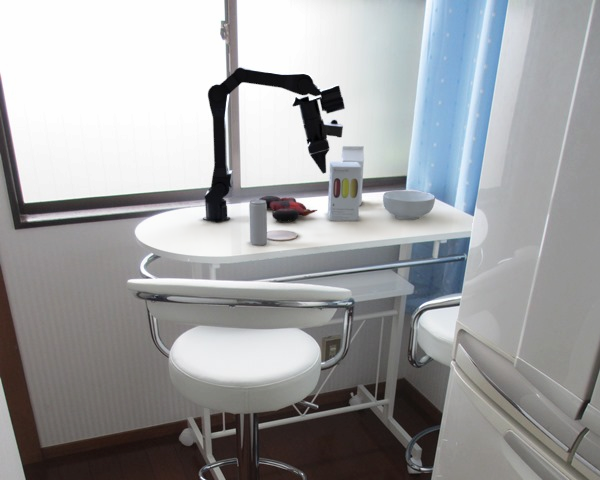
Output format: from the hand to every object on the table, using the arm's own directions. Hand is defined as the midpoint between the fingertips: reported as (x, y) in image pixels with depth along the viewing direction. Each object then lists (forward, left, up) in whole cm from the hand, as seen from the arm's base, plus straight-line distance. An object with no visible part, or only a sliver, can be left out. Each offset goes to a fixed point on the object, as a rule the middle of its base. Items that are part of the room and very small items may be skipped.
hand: (323, 170), depth 213 cm
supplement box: (+3, +7, -16) cm, 18 cm away
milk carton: (-6, +25, -16) cm, 30 cm away
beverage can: (+1, -33, -16) cm, 37 cm away
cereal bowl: (+19, +21, -16) cm, 32 cm away
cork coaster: (+1, -23, -16) cm, 28 cm away
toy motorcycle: (-14, 0, -16) cm, 21 cm away
